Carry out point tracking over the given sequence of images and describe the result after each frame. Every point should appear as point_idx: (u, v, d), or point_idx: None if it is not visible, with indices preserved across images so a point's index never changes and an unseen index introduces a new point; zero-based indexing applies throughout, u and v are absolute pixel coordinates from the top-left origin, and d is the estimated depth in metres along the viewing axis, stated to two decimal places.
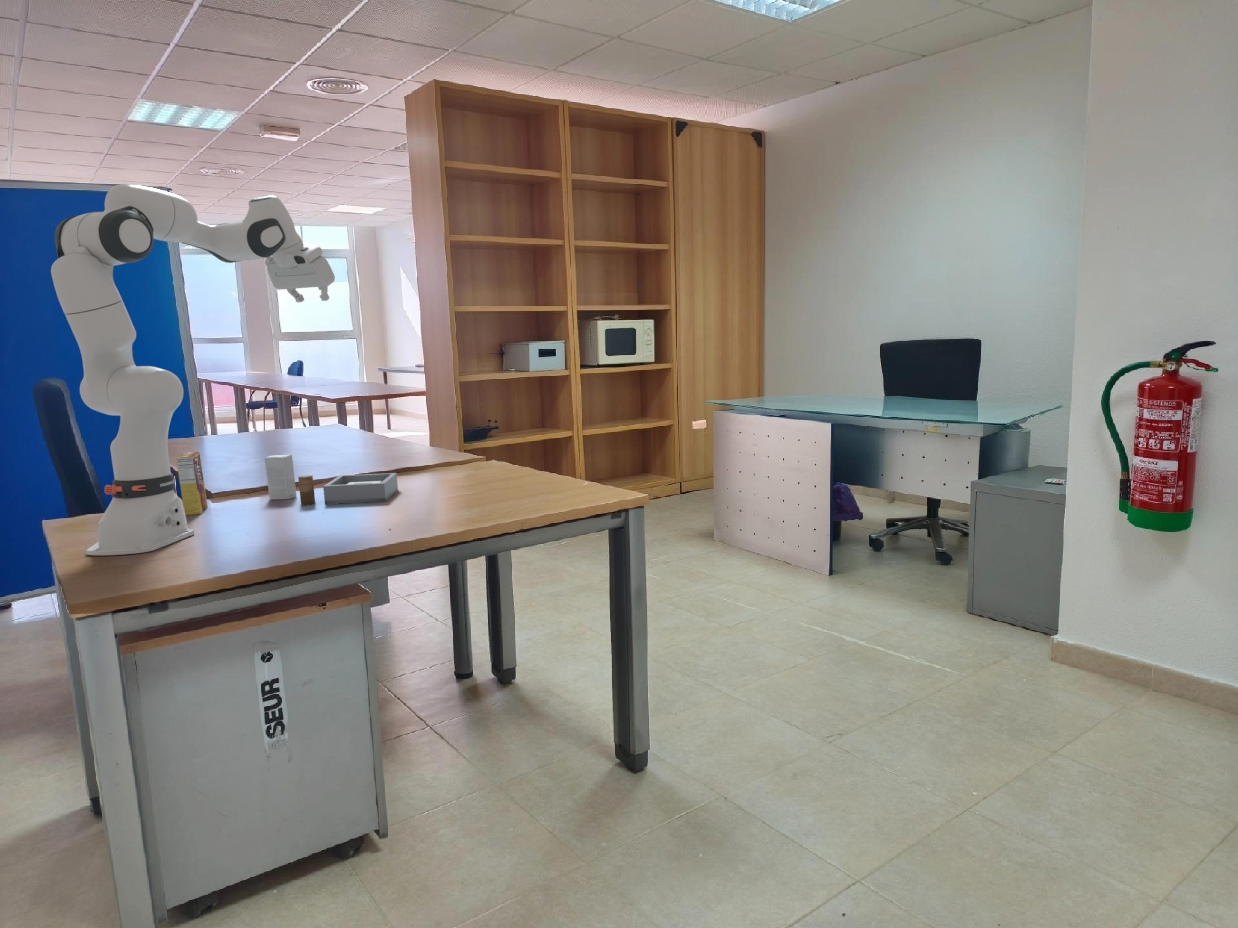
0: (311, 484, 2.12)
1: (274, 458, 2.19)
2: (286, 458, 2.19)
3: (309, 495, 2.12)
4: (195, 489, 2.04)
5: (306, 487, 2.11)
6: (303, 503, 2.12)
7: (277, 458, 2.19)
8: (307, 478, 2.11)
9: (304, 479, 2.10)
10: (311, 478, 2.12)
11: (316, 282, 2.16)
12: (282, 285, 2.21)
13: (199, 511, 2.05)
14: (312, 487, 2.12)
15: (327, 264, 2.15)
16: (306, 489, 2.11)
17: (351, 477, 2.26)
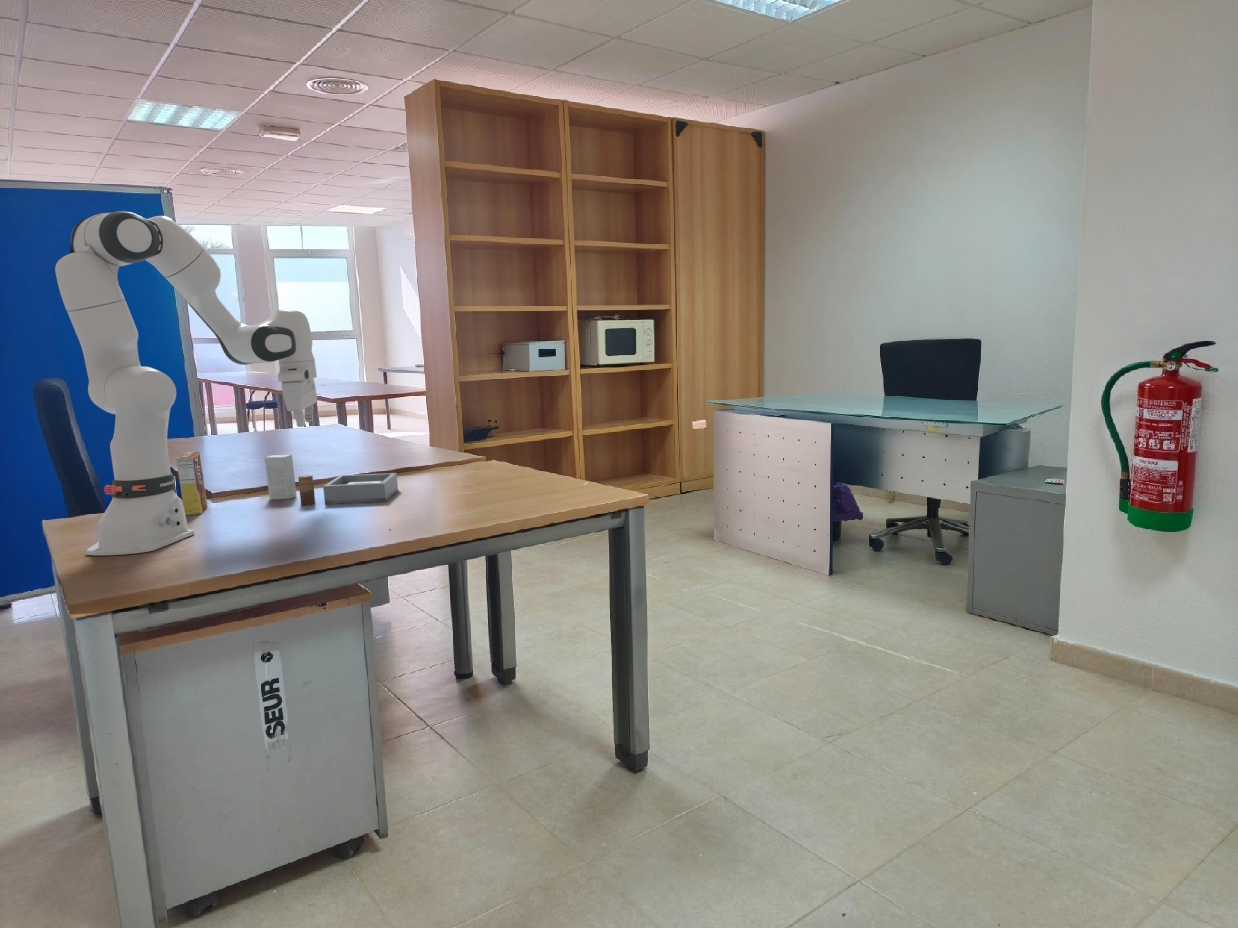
0: (311, 484, 2.12)
1: (274, 458, 2.19)
2: (286, 458, 2.19)
3: (309, 495, 2.12)
4: (195, 489, 2.04)
5: (306, 487, 2.11)
6: (303, 503, 2.12)
7: (277, 458, 2.19)
8: (307, 478, 2.11)
9: (304, 479, 2.10)
10: (311, 478, 2.12)
11: None
12: None
13: (199, 511, 2.05)
14: (312, 487, 2.12)
15: (297, 391, 2.01)
16: (306, 489, 2.11)
17: (351, 477, 2.26)
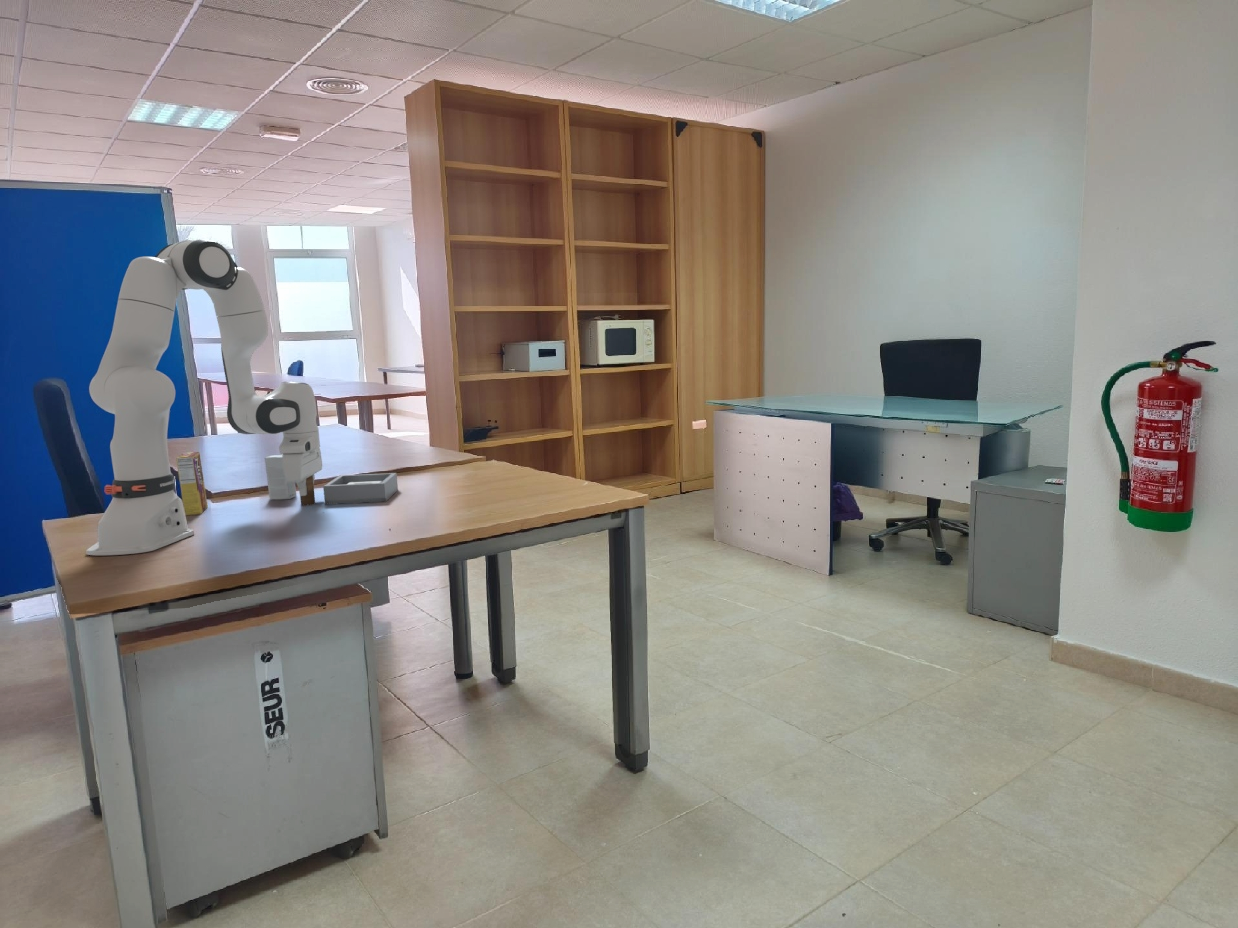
0: (311, 484, 2.12)
1: (274, 458, 2.19)
2: None
3: (309, 495, 2.12)
4: (195, 489, 2.04)
5: None
6: (303, 503, 2.12)
7: (277, 458, 2.19)
8: (307, 478, 2.11)
9: None
10: (311, 478, 2.12)
11: None
12: None
13: (199, 511, 2.05)
14: (312, 487, 2.12)
15: (297, 463, 2.02)
16: None
17: (351, 477, 2.26)
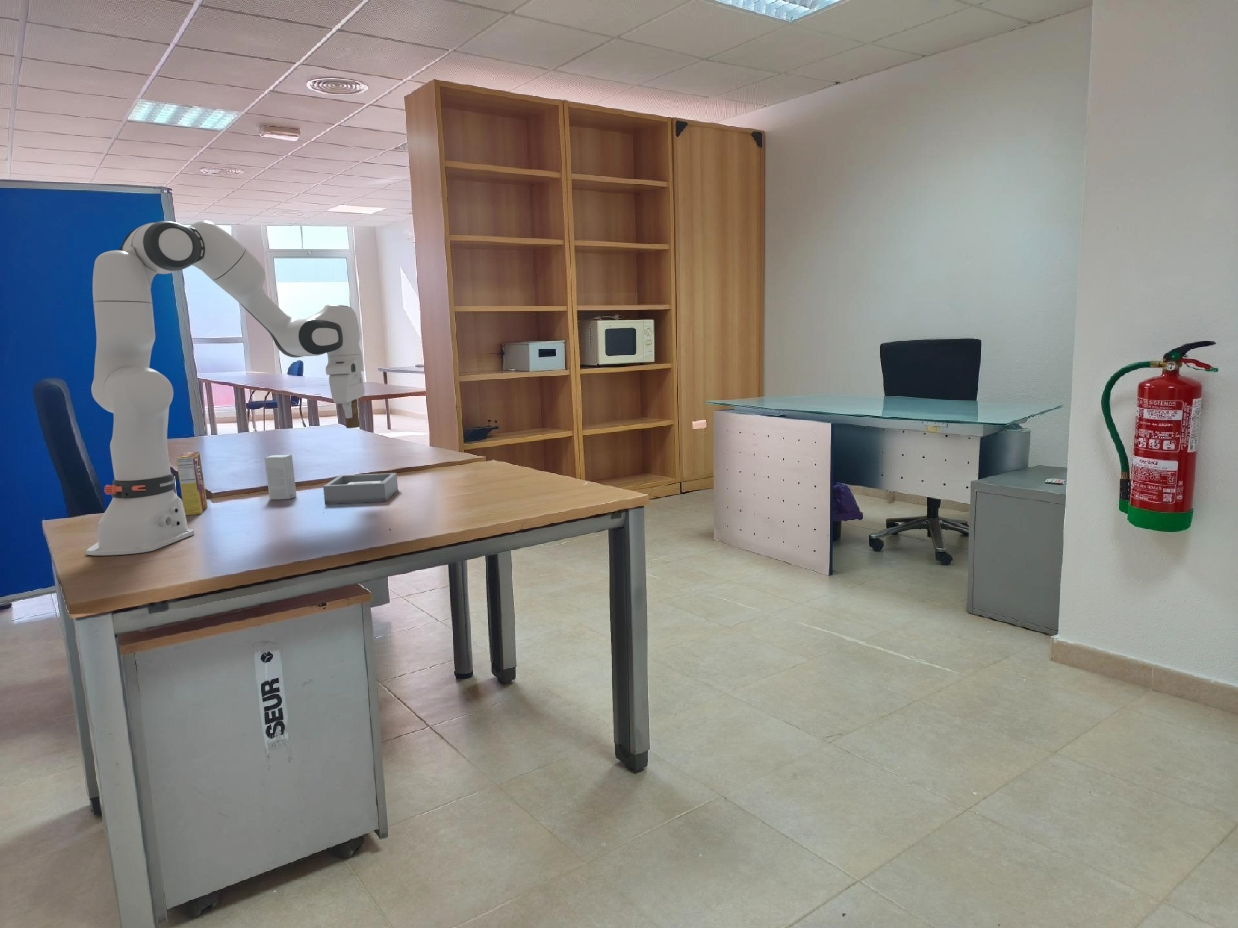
0: (356, 407, 2.15)
1: (274, 458, 2.19)
2: (286, 458, 2.19)
3: (354, 418, 2.15)
4: (195, 489, 2.04)
5: None
6: (348, 426, 2.15)
7: (277, 458, 2.19)
8: (352, 401, 2.14)
9: None
10: (356, 401, 2.15)
11: None
12: None
13: (199, 511, 2.05)
14: (357, 410, 2.16)
15: (344, 384, 2.05)
16: None
17: (351, 477, 2.26)
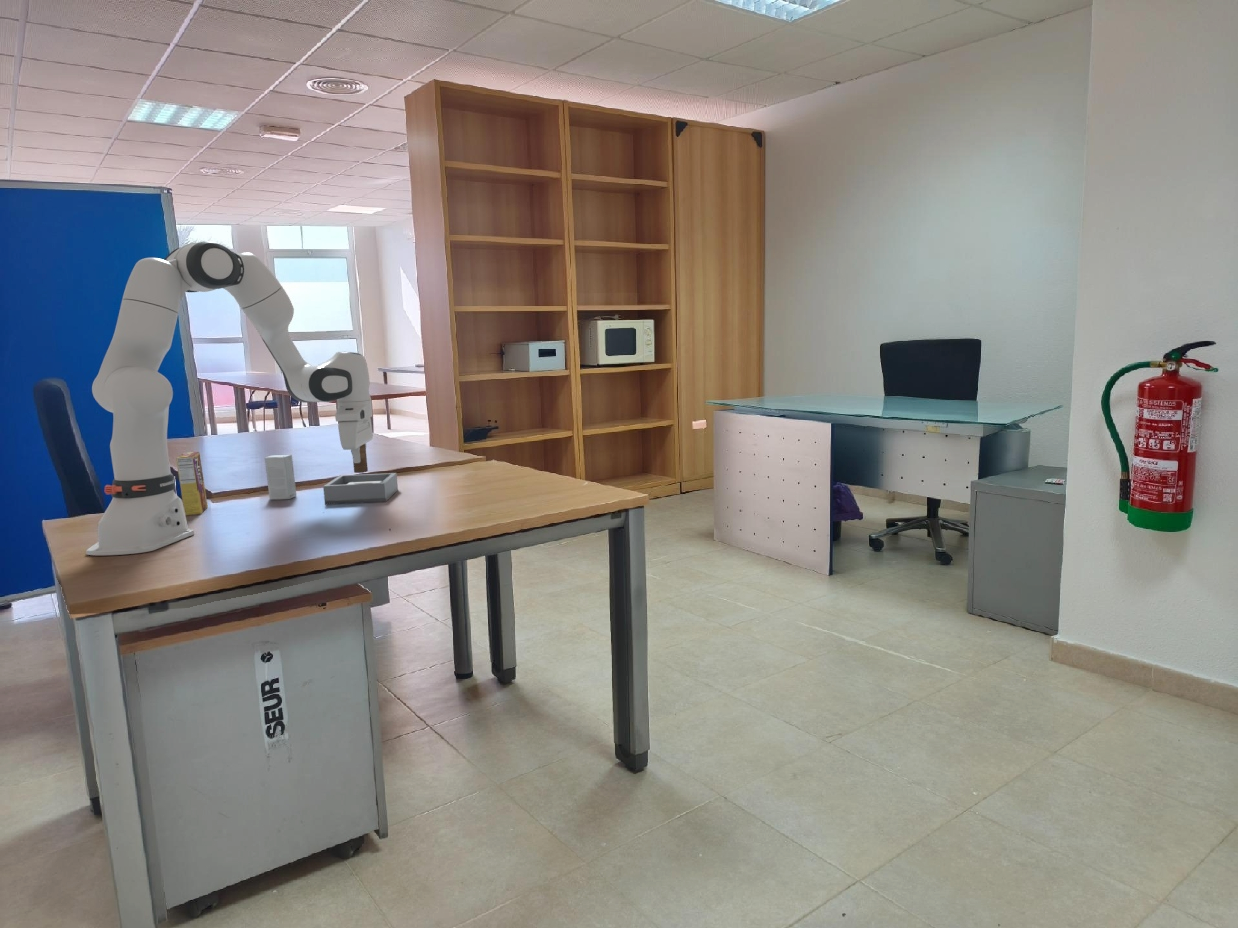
0: (364, 452, 2.17)
1: (274, 458, 2.19)
2: (286, 458, 2.19)
3: (363, 463, 2.17)
4: (195, 489, 2.04)
5: None
6: (356, 470, 2.17)
7: (277, 458, 2.19)
8: (360, 446, 2.16)
9: None
10: (364, 446, 2.17)
11: None
12: None
13: (199, 511, 2.05)
14: (365, 455, 2.18)
15: (353, 430, 2.07)
16: None
17: (351, 477, 2.26)
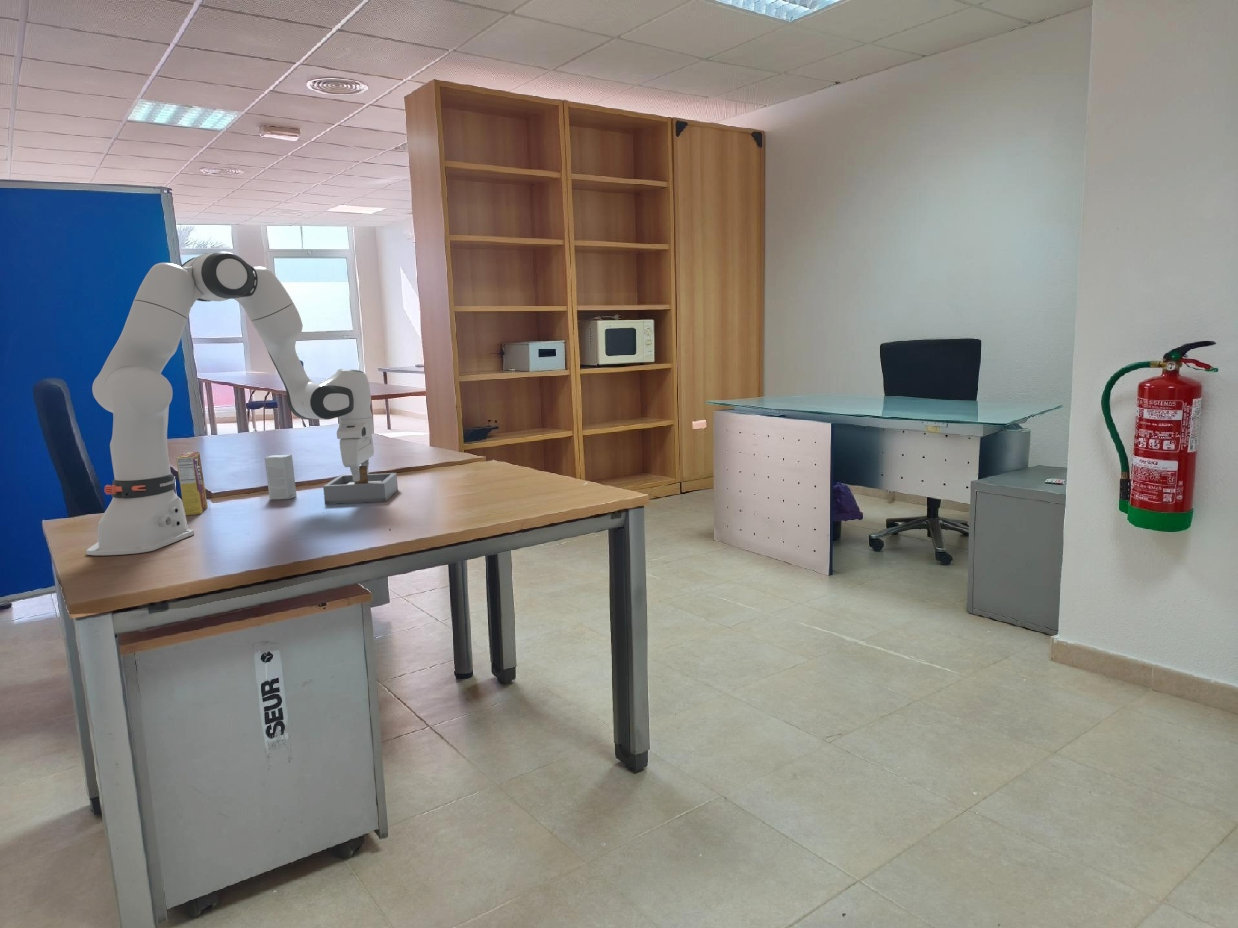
0: (365, 474, 2.18)
1: (274, 458, 2.19)
2: (286, 458, 2.19)
3: None
4: (195, 489, 2.04)
5: (361, 477, 2.17)
6: None
7: (277, 458, 2.19)
8: (362, 468, 2.17)
9: (359, 469, 2.17)
10: (365, 468, 2.18)
11: None
12: None
13: (199, 511, 2.05)
14: (366, 477, 2.19)
15: (354, 448, 2.08)
16: (361, 479, 2.17)
17: (351, 477, 2.26)
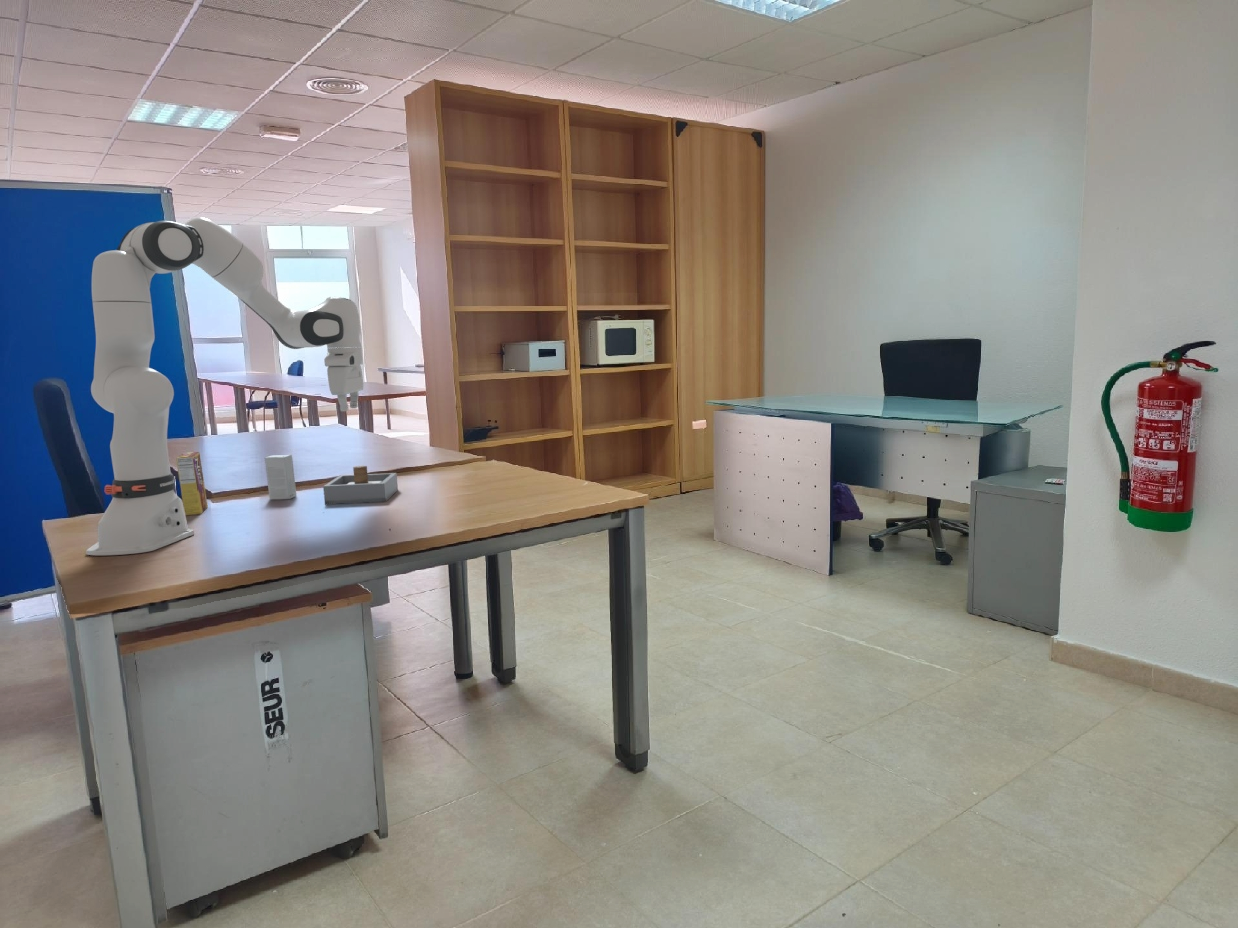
0: (365, 474, 2.18)
1: (274, 458, 2.19)
2: (286, 458, 2.19)
3: None
4: (195, 489, 2.04)
5: (361, 477, 2.17)
6: None
7: (277, 458, 2.19)
8: (362, 468, 2.17)
9: (359, 469, 2.17)
10: (366, 468, 2.18)
11: None
12: None
13: (199, 511, 2.05)
14: (366, 477, 2.19)
15: (342, 375, 2.06)
16: (361, 479, 2.17)
17: (351, 477, 2.26)
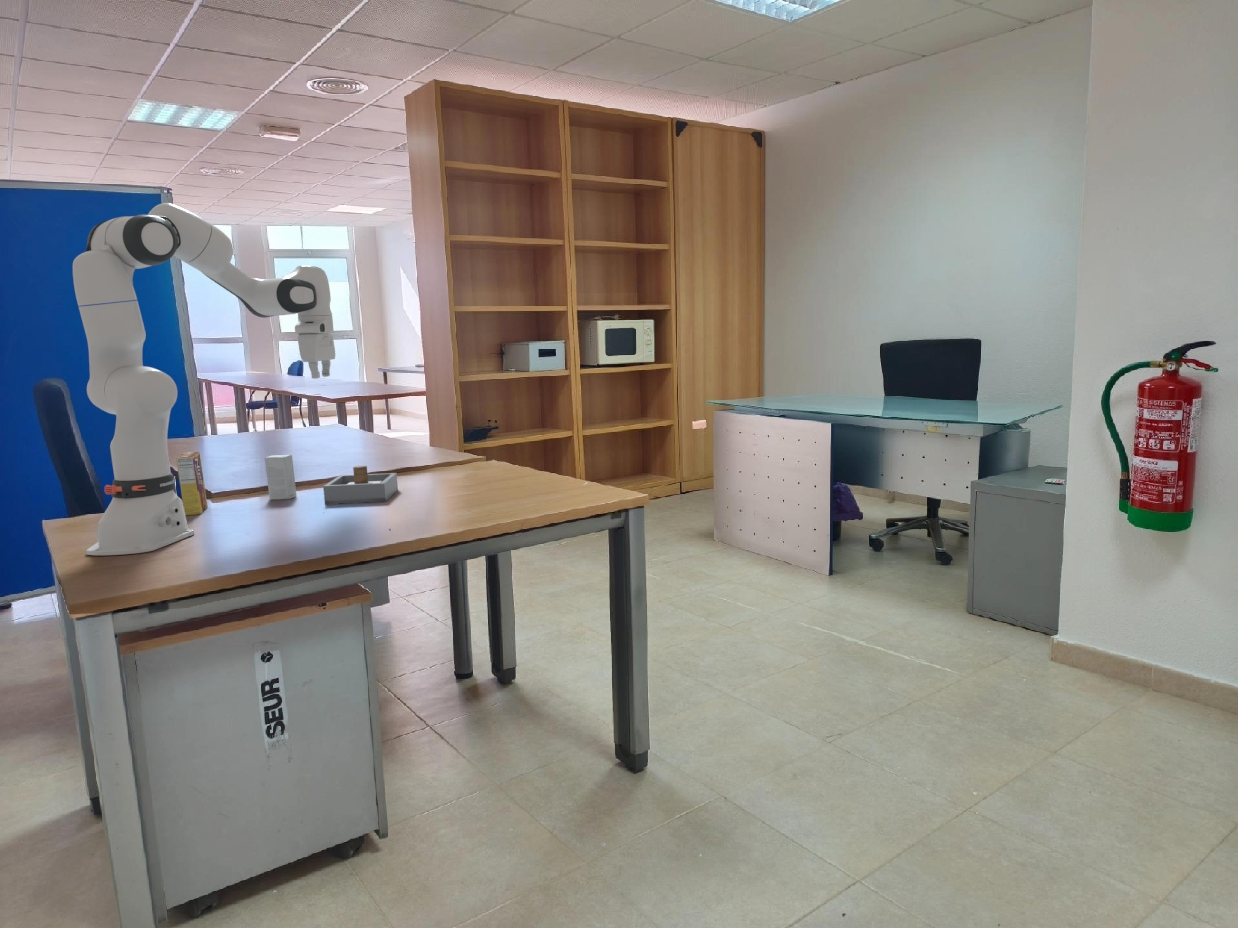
0: (365, 474, 2.18)
1: (274, 458, 2.19)
2: (286, 458, 2.19)
3: None
4: (195, 489, 2.04)
5: (361, 477, 2.17)
6: None
7: (277, 458, 2.19)
8: (362, 468, 2.17)
9: (359, 469, 2.17)
10: (365, 468, 2.18)
11: None
12: None
13: (199, 511, 2.05)
14: (366, 477, 2.19)
15: (312, 342, 2.09)
16: (361, 479, 2.17)
17: (351, 477, 2.26)
